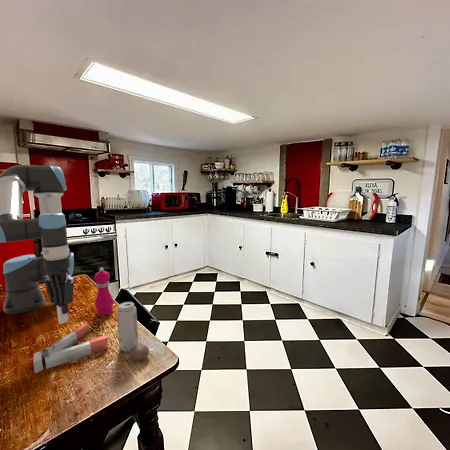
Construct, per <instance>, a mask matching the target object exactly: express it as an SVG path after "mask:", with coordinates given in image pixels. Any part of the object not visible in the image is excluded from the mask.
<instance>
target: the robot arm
mask: <svg viewBox="0 0 450 450" xmlns="http://www.w3.org/2000/svg"><path fill="white" fill-rule="evenodd" d="M67 190H68V188H67V185H66V178H65V176H64V172H63V170H62V168H61V167H59V166H56V165H50V164H49V165H38V164H36V165H35V164H18V165H13V166H10V167H8V168H6V169H5V170H4V171H2V172H1V173H0V243H3V244H4V243H11V242H20V241H28V240H29V241H31V240H41V247H42V248H41V250H42V251H41V252H40V256H38V257H37V256H36V255H35V254H33V253H32V254H31V253H30V254H25V255H20V256H17V257H14V258H13V257H12V258H10V259H8V260H6V261H5V262H4V263H3V265H2V268H3V272H2V274H3V277H4V283H5V285H4V286H5V291H6V296H5V300H4V303H3V306H2V309H3V313H4V314H5V315H17V314H24V313H29V312H31V311H35V310H36V309H39V308H40V307H42V306H44V305H45V304H46V297H45V295H44V293H43V292H42V290H41V288H40V285H39V283H42V282H44V285H45V289H46V291H47V295H48V299H49V303H51V304H54V306H55V310H56V314H57V321H58V324H59V325H60V324H62V325H63V324H65V323H67V322H68V321H69V307H68V306H69V304H71V303H72V302H73V297H74V288H75V282H76V280H77V277H75V276H73V277H72V275H73V273H74V268H75V267H74V266H75V258H74V257H75V255H74V252H72V251H70V248H69V243H68V231H67V221H66V220H67V219H66V217H65V215H66V214H64V213H63V212H62V211H63V209H62V201H61V198H62V197H63V196H64V192H65V191H67ZM27 191H28V192H33V195H34V197H36V198H38V204H39V205H38V206H39V213H40V214H39V215H38V217H35V218H23V214H24V213H23V212H24V211H23V210H24V209H23V194H24V192H27Z"/></svg>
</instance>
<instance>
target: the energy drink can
mask: <svg viewBox="0 0 450 450" xmlns="http://www.w3.org/2000/svg"><path fill="white" fill-rule="evenodd" d="M116 319H117V320H116V321H117V330H118V333H117V334H118V343H119V349H121V351H122V352H130V350H131V349H132V348H133V347H134V346H136V345H139V330H138V314H137V307H136V306H135V303H134V302H133V301H124V302H121V303H120V304H119V305H118V307H117V310H116Z"/></svg>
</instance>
